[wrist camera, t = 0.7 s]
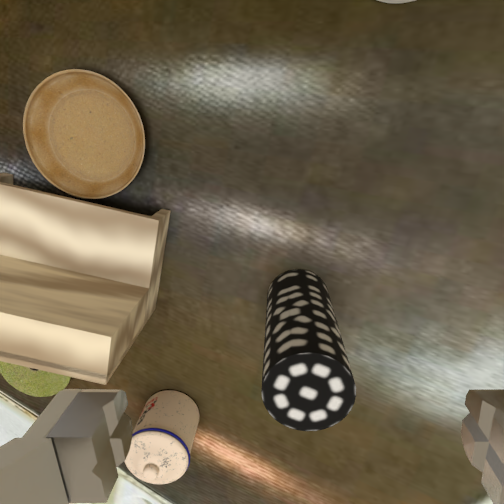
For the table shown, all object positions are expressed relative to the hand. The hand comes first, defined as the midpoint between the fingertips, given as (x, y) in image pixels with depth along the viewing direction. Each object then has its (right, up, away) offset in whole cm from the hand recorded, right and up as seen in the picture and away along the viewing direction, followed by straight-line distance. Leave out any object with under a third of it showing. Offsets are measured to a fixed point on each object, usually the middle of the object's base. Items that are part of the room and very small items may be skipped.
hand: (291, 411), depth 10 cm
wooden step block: (-24, +5, +44) cm, 50 cm away
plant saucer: (-21, +18, +40) cm, 48 cm away
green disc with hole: (-33, -12, +50) cm, 61 cm away
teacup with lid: (-14, -22, +53) cm, 59 cm away
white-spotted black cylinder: (+5, -2, +45) cm, 45 cm away
